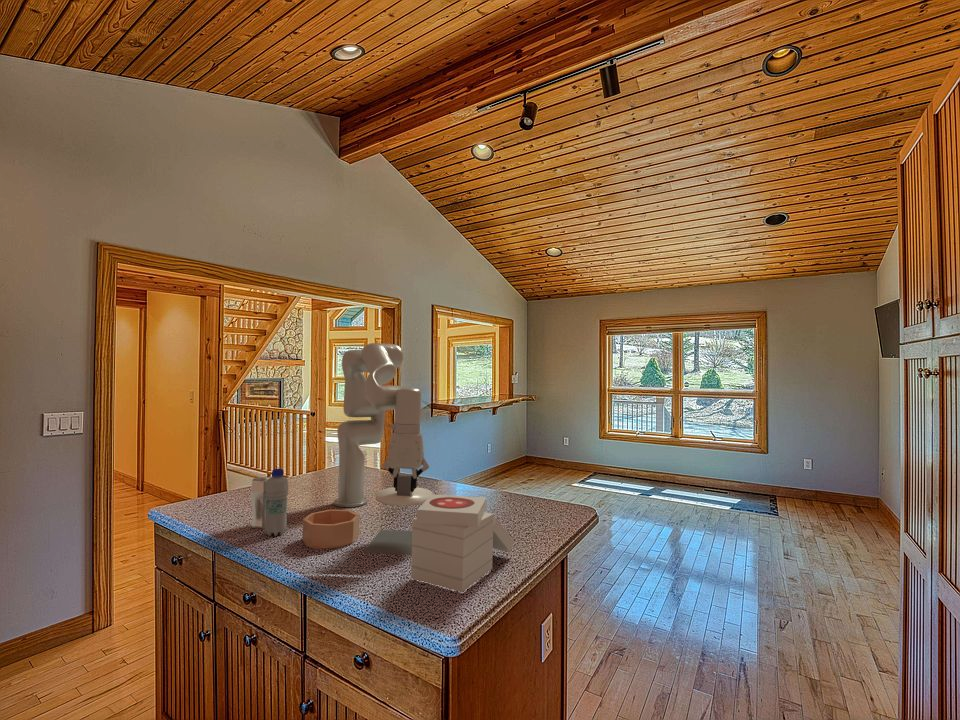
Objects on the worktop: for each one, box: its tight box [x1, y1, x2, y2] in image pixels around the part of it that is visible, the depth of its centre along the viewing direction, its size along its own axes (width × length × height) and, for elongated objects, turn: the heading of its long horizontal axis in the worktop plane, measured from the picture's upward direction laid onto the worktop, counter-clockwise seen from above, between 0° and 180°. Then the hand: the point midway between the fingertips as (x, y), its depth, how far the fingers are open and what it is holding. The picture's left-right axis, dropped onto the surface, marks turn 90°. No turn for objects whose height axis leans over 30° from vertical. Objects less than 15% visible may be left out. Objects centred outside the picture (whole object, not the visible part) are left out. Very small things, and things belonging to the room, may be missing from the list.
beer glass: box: [250, 476, 272, 529], centre depth 153 cm, size 7×7×15 cm
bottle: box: [263, 468, 289, 537], centre depth 146 cm, size 7×7×20 cm
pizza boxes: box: [410, 493, 515, 592], centre depth 124 cm, size 19×30×18 cm, turn 151°
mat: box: [363, 529, 412, 556], centre depth 140 cm, size 19×19×1 cm
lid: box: [375, 473, 434, 507], centre depth 141 cm, size 17×17×6 cm
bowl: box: [301, 509, 361, 550], centre depth 141 cm, size 15×15×7 cm
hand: (405, 489), depth 141 cm, fingers closed on lid, 4 cm apart
